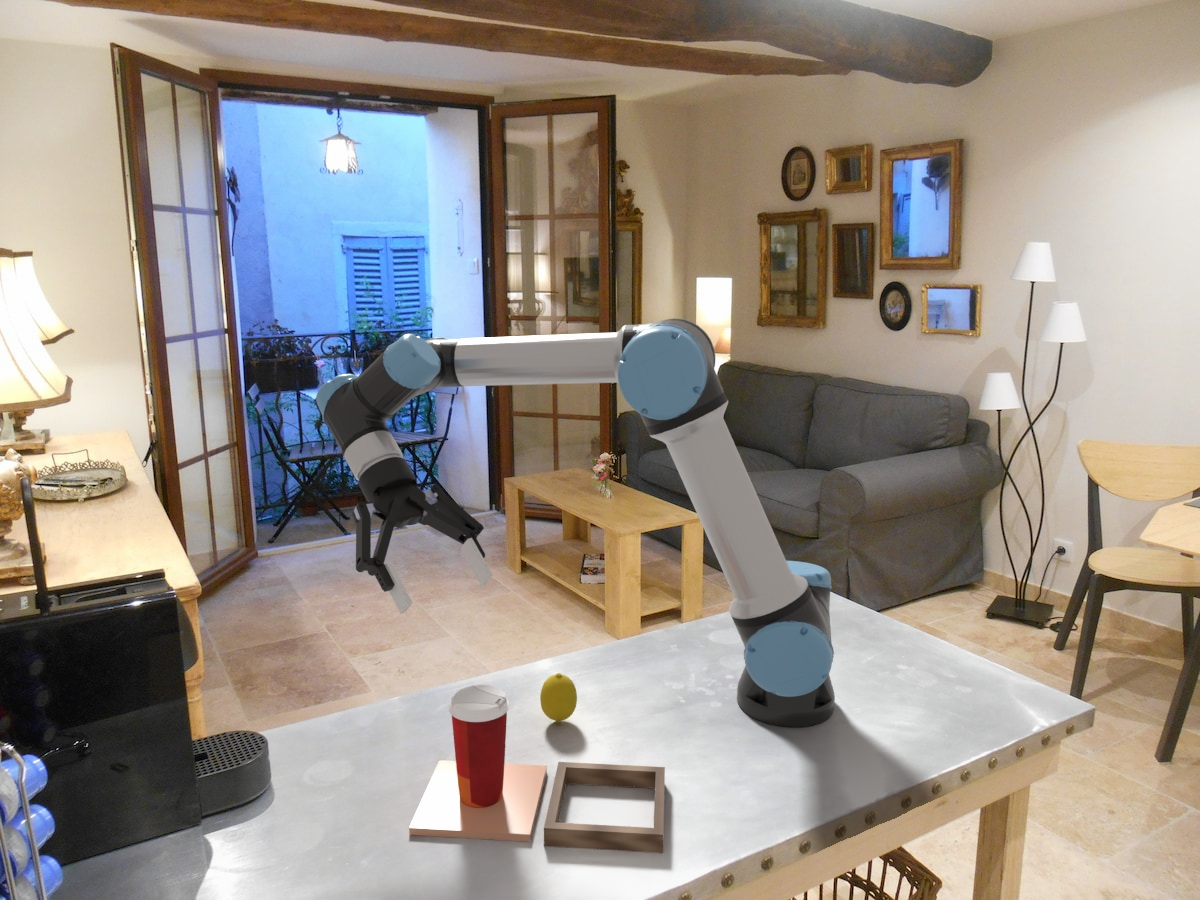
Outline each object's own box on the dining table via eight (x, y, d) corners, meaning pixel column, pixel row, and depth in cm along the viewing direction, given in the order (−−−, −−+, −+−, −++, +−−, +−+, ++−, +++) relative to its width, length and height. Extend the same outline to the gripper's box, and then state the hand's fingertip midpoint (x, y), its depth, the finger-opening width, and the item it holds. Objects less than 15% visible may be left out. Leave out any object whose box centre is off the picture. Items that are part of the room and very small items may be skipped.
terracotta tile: (546, 772, 127) (546, 765, 127) (530, 841, 113) (529, 834, 112) (439, 766, 128) (439, 760, 128) (409, 834, 114) (409, 827, 114)
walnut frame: (664, 783, 125) (664, 767, 124) (663, 853, 111) (663, 834, 110) (558, 778, 126) (558, 761, 125) (543, 846, 112) (543, 828, 111)
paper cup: (520, 784, 123) (519, 688, 119) (495, 818, 115) (493, 716, 112) (467, 773, 125) (464, 678, 122) (439, 805, 118) (436, 705, 115)
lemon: (572, 733, 137) (572, 684, 135) (536, 729, 138) (535, 680, 136) (580, 714, 142) (580, 667, 141) (545, 711, 144) (545, 663, 142)
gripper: (441, 469, 145) (506, 583, 138) (293, 501, 127) (359, 634, 120) (460, 440, 140) (529, 557, 133) (309, 470, 122) (379, 607, 116)
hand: (448, 594), depth 127 cm, fingers open, 13 cm apart
